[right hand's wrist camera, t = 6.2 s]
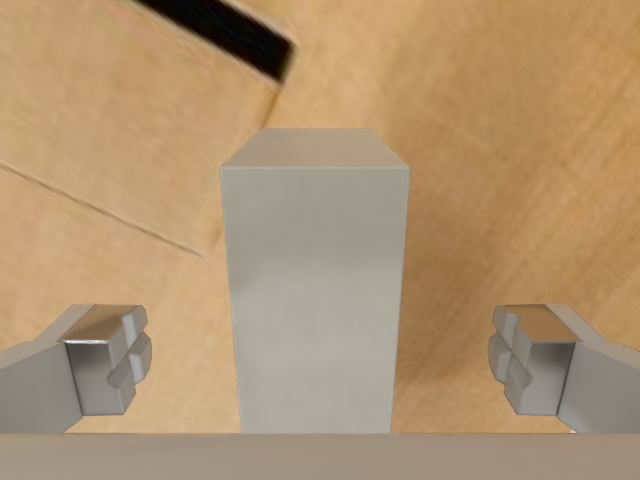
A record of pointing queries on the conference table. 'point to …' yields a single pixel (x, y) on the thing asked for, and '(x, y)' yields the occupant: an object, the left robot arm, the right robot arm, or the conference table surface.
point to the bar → (315, 278)
